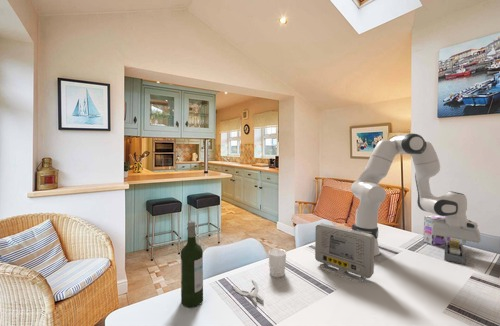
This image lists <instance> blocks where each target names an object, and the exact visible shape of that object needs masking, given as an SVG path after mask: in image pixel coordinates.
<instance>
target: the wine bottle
mask: <svg viewBox="0 0 500 326" xmlns="http://www.w3.org/2000/svg"><path fill="white" fill-rule="evenodd" d="M186 241H187V242H186V244H185V245H184V246H183V248H182V249H181V251H180V296H181V298H180V302H181V305H182V306H183V307H185V308H187V309H190V308H193V309H194V308H197V307H199V306H200V305H201V304H202V303H203V301H204V265H203V264H204V263H203V262H204V257H203V256H204V253H203V252H204V250H203V248H202V246H201V245H200V244H198V243H197V236H196V221H195V220H189V221H188V222H187V239H186Z"/></svg>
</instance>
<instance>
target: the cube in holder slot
mask: <svg viewBox="0 0 500 326" xmlns="http://www.w3.org/2000/svg"><path fill="white" fill-rule="evenodd" d="M449 254H452V255H457V256H460V249H455V248H450V253H449Z"/></svg>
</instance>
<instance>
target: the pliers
mask: <svg viewBox="0 0 500 326" xmlns="http://www.w3.org/2000/svg"><path fill="white" fill-rule="evenodd" d="M251 282H252V284H253V287H252V288H251V291H250V292H249V291H247V290H241V289H239V288H237V287H236V286H235V285H232V288H233V291H234V292H236V293H237V294H238V295H241V296H243V297H247V298H249V299H251V301H252V303H253V305H254V306H258V302H259V303H261V304H264V302H265V300H264V298H263V297H262V296H261V295H260V294H259V293H258V292H259V286H258V284H257V282H255V280H253V279H252V280H251ZM257 301H258V302H257Z"/></svg>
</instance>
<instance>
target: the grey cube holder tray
mask: <svg viewBox="0 0 500 326" xmlns="http://www.w3.org/2000/svg"><path fill="white" fill-rule="evenodd" d="M459 249H460V256H457V255H452V254H449V253H450V248H449V245H446V243H445V244H444V255H443V256H444V257H443V259H444V261H447V262H452V263H456V264H461V265H464V266H465V265H466V263H467V262H466V253H465V246H464V245H463V248H461V247H459Z"/></svg>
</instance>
